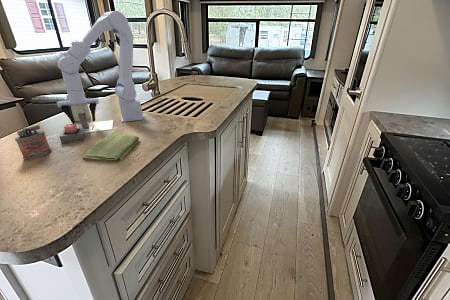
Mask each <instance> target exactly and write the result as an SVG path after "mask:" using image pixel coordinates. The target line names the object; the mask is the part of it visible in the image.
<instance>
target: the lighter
mask: <svg viewBox="0 0 450 300" xmlns="http://www.w3.org/2000/svg"><path fill="white" fill-rule="evenodd" d="M40 129H41V126H40V125H39V124H35V125H32V126H30V127H26V126H24V127H22V129H20V130H19V129H18V130H16V134H17V135H18V136H17V137H14V140H15V142H16V144H17V145H18V148H19V150H20V152H21V155H22V160H23V161H24V162H25V161H26V162H27V161H31V160H34V159H37V158H40V157H43V156H46V155H49V154H50V153H52V148H51V147H50V145H49V143H48V140H47V137H46V135H45V134H46V132H45V130H40Z"/></svg>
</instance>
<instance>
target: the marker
mask: <svg viewBox="0 0 450 300" xmlns="http://www.w3.org/2000/svg"><path fill="white" fill-rule="evenodd" d="M76 109H77V113H78V116H79V119H80V123H79V124H81V126H82V128H83V127H84V129H89V124H88V123H89V121H88V119H87V117H86V113H85V109H84V107H77V108H76Z"/></svg>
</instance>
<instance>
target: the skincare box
mask: <svg viewBox="0 0 450 300" xmlns="http://www.w3.org/2000/svg"><path fill="white" fill-rule="evenodd" d="M84 94H85V92H84ZM85 95H86V94H85ZM66 98H67V100H69V97H68V94H66ZM77 107H84V109H85V113H86V117H87V120H90V119H92V115H91V111H90V108H89V104H86V105H75V106H71V110H72V114H73V117H74V119H75V122H80V119H79V116H78V113H77V109H76V108H77Z"/></svg>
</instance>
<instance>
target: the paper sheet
mask: <svg viewBox="0 0 450 300" xmlns="http://www.w3.org/2000/svg"><path fill="white" fill-rule="evenodd" d="M88 124H89V129H84V131H85V134H89V133H90V134H91V133H97V132H104V131H112V130H113V129H114V119H111V120H102V121H94V122H88ZM76 126H77V128H82V126H81V123H76Z"/></svg>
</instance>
